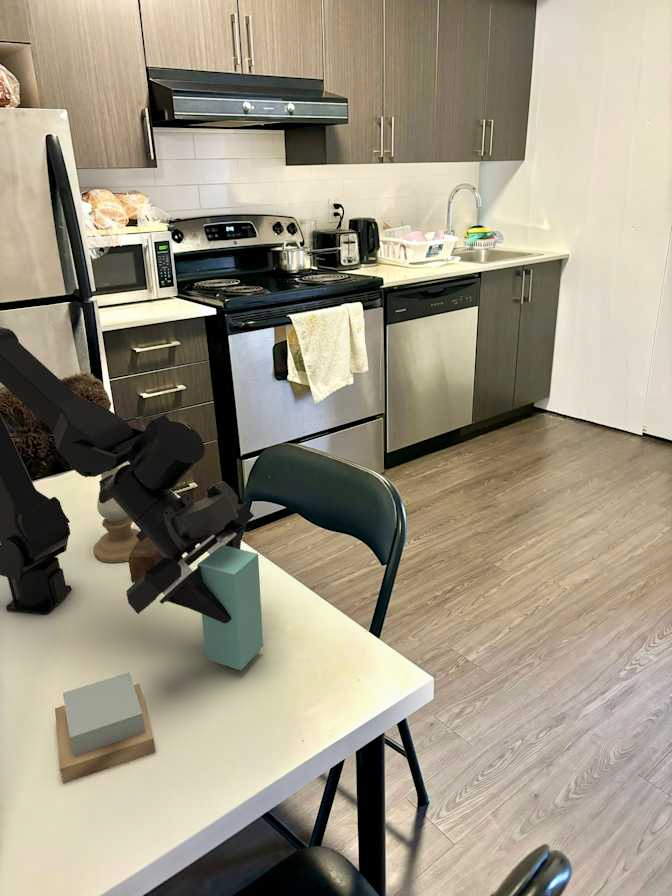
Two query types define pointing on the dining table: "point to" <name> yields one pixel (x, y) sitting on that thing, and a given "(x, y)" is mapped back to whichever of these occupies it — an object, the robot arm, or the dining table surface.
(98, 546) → the candle holder
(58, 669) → the dining table surface
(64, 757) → the tower base block
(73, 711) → the tower middle block
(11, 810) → the dining table surface
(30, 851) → the dining table surface
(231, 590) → the tall teal block
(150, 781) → the dining table surface
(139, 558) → the brick
